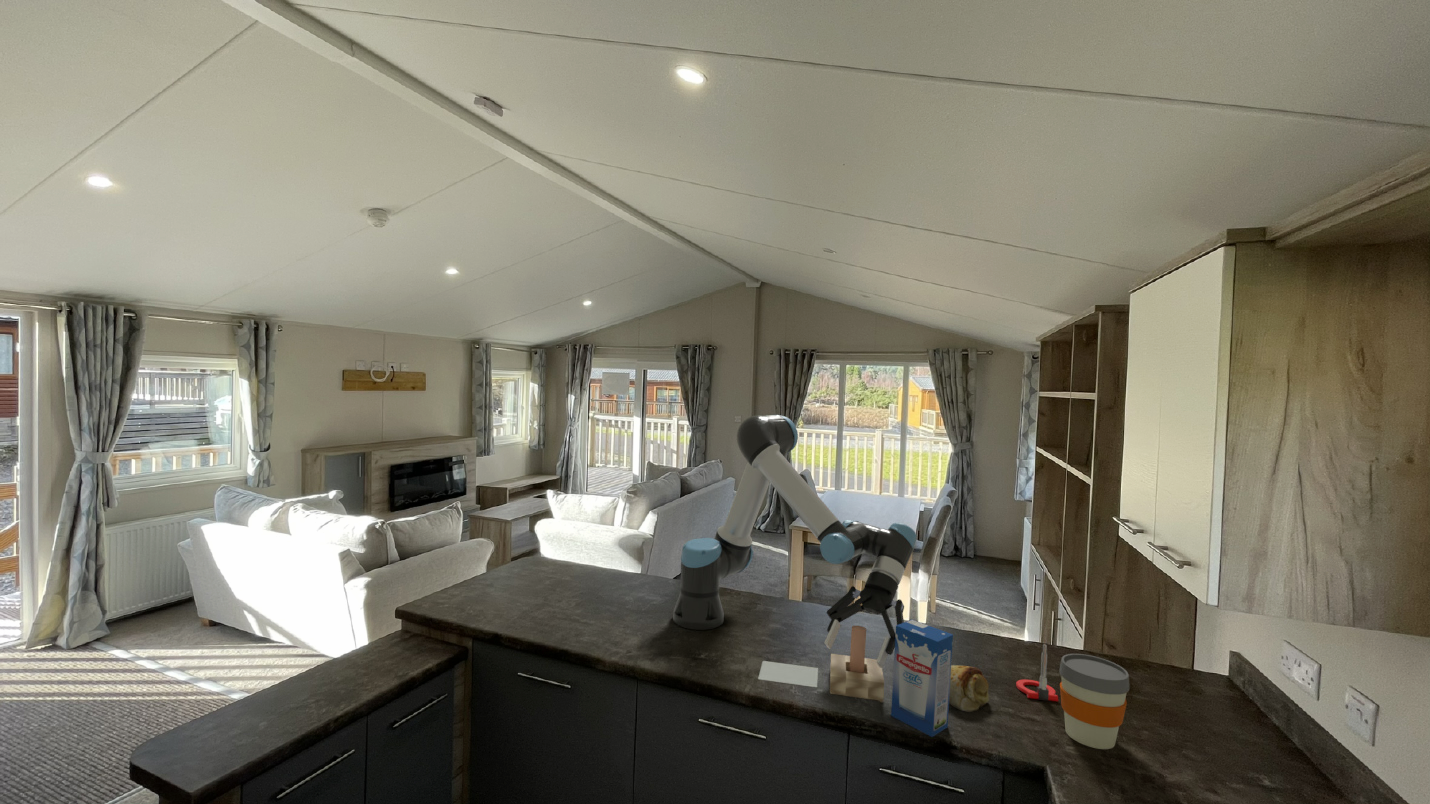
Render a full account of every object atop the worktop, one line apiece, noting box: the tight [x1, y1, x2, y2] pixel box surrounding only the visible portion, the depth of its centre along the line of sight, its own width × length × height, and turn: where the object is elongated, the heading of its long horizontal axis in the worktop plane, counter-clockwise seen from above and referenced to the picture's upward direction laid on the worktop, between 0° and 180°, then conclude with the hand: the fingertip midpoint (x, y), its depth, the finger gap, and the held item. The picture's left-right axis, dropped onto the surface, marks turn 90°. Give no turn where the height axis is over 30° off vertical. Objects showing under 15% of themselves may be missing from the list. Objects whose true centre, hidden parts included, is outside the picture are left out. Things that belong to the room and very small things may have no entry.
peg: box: [849, 625, 867, 673], centre depth 145 cm, size 3×3×14 cm
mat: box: [757, 660, 819, 688], centre depth 149 cm, size 14×10×1 cm
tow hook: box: [1015, 643, 1059, 702], centre depth 147 cm, size 8×13×9 cm
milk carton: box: [890, 619, 954, 738], centre depth 130 cm, size 10×6×20 cm, turn 40°
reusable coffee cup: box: [1058, 653, 1130, 750], centre depth 128 cm, size 13×13×15 cm
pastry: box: [949, 664, 990, 713], centre depth 142 cm, size 14×12×8 cm
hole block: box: [829, 653, 885, 703], centre depth 145 cm, size 12×12×4 cm
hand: (852, 655), depth 143 cm, fingers open, 13 cm apart
